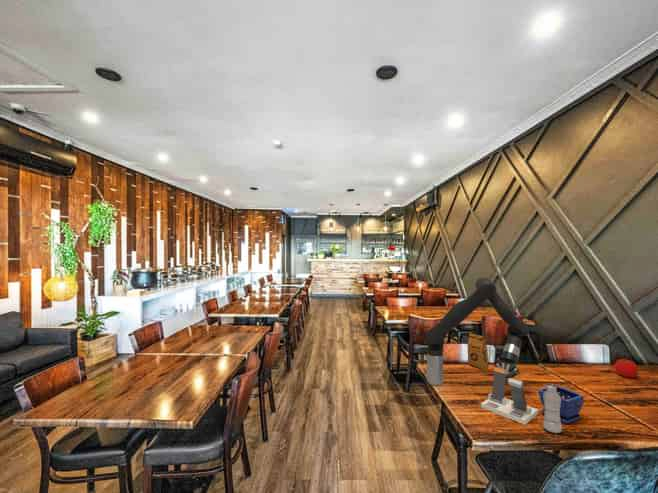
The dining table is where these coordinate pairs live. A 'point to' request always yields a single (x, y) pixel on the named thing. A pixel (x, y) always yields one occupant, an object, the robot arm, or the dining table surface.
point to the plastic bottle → (552, 409)
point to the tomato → (626, 368)
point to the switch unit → (509, 410)
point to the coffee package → (477, 351)
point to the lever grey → (518, 394)
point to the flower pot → (566, 404)
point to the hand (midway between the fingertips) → (502, 383)
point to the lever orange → (498, 384)
